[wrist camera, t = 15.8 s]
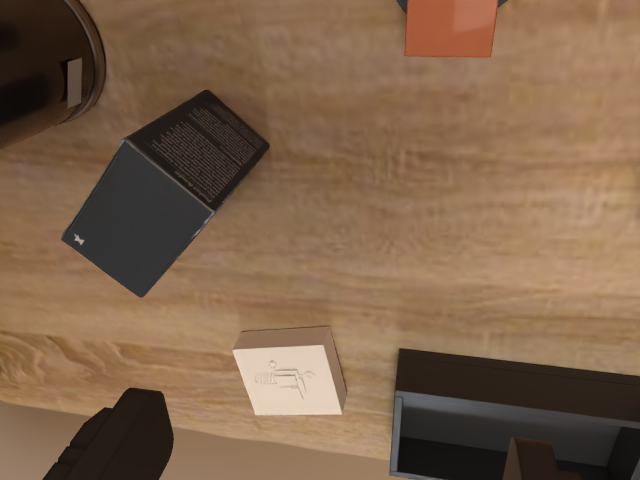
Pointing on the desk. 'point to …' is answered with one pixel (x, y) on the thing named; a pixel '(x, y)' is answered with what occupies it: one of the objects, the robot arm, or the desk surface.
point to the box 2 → (291, 371)
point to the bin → (510, 418)
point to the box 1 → (163, 190)
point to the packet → (450, 28)
